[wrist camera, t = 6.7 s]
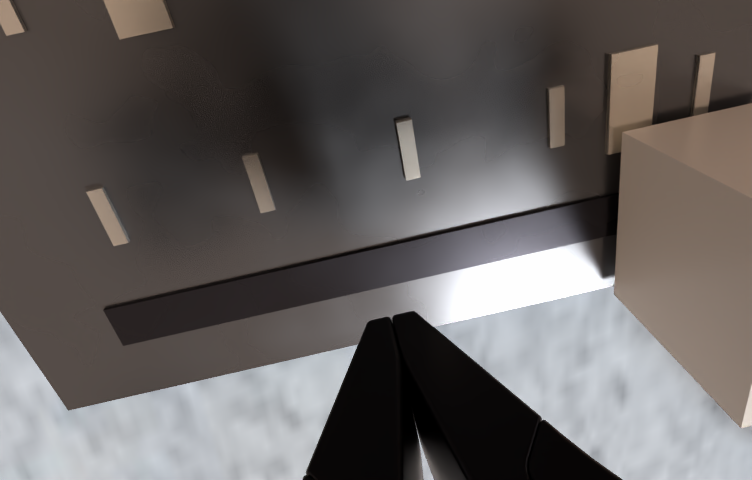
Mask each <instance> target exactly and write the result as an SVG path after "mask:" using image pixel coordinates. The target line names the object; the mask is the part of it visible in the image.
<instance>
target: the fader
mask: <svg viewBox="0 0 752 480" xmlns="http://www.w3.org/2000/svg"><path fill="white" fill-rule="evenodd" d="M614 295H615V296H616V297H617V298H618V299H619V300H620V301H621V302H622V303H623V304H624V305H625V306H626V308H627V309H628V310H629V311H630V312H631V313H632V314H633V315H634V316H635V317H636V318H637V319H638V320H639V321H640V322H641V323H642V324H643V325H644V326H645V328H646V329H647V330H648V331H649V332H650V333H651V334H652V335H653V336H654V337H655V338H656V339H657V340H658V341H659V342H660V343H661V344H662V345H663V346H664V348H665V349H666V350H667V351H668V352H669V353H670V354H671V355H672V356H673V357H674V358H675V359H676V360H677V361H678V362H679V363H680V364H681V365H682V367H683V368H684V369H685V370H686V371H687V372H688V373H689V374H690V375H691V376H692V377H693V378H694V379H695V380H696V381H697V382H698V383H699V384H700V385H701V387H702V388H703V389H704V390H705V391H706V392H707V393H708V394H709V395H710V396H711V397H712V398H713V399H714V400H715V401H716V402H717V403H718V404H719V405H720V407H721V408H722V409H723V410H724V411H725V412H726V413H727V414H728V415H729V416H730V417H731V418H732V419H733V420H734V421H735V422H736V423H737V424H738V425H739V427H740V428H744V427H748V426H752V103H750V104H746V105H741V106H737V107H732V108H728V109H723V110H719V111H714V112H710V113H705V114H701V115H696V116H692V117H687V118H683V119H678V120H674V121H669V122H665V123H660V124H656V125H652V126H647V127H643V128H638V129H634V130H629V131H625V132H622V146H621V166H620V185H619V205H618V224H617V244H616V263H615V283H614Z"/></svg>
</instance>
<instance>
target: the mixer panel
mask: <svg viewBox="0 0 752 480" xmlns="http://www.w3.org/2000/svg"><path fill="white" fill-rule="evenodd" d="M750 103H752V0H0V312H1V313H2V315H3V316H4V317H5V319H6V320H7V322H8V323H9V325H10V326H11V328H12V329H13V331H14V332H15V333H16V335H17V336H18V338H19V339H20V341H21V342H22V344H23V345H24V347H25V348H26V349H27V351H28V352H29V354H30V355H31V357H32V358H33V360H34V361H35V363H36V364H37V365H38V367H39V368H40V370H41V371H42V373H43V374H44V376H45V377H46V379H47V380H48V381H49V383H50V384H51V386H52V387H53V389H54V390H55V392H56V393H57V395H58V396H59V397H60V399H61V400H62V402H63V403H64V405H65V406H66V408H67V409H68V410H72V409H77V408H81V407H85V406H90V405H94V404H98V403H103V402H107V401H112V400H116V399H120V398H125V397H129V396H133V395H138V394H142V393H147V392H151V391H155V390H160V389H164V388H168V387H173V386H177V385H182V384H186V383H190V382H195V381H199V380H204V379H208V378H212V377H217V376H221V375H225V374H230V373H234V372H239V371H243V370H247V369H252V368H256V367H260V366H265V365H269V364H274V363H278V362H282V361H287V360H291V359H296V358H300V357H304V356H309V355H313V354H317V353H322V352H326V351H331V350H335V349H339V348H344V347H348V346H352V345H357V344H359V341H360V339H361V336H362V334H363V332H364V329H365V327H366V324H367V323H368V322H369V321H370V320H374V319H379V318H383V317H390V318H391V319H392V317H393V316H394V315H396V314H401V313H405V312H409V311H415V312H416V313H418V314H419V315H420V316H421V317H422V318H424V319H425V320H426V321H427V322H428V323H430V324H431V325H432V326H433V327H436V326H440V325H444V324H449V323H453V322H458V321H462V320H466V319H471V318H475V317H479V316H484V315H488V314H493V313H497V312H501V311H506V310H510V309H515V308H519V307H523V306H528V305H532V304H536V303H541V302H545V301H550V300H554V299H558V298H563V297H567V296H571V295H576V294H580V293H585V292H589V291H593V290H598V289H602V288H607V287H611V286H614V283H615V263H616V244H617V224H618V205H619V185H620V166H621V146H622V132H625V131H629V130H634V129H638V128H643V127H647V126H652V125H656V124H660V123H665V122H669V121H674V120H678V119H683V118H687V117H692V116H696V115H701V114H705V113H710V112H714V111H719V110H723V109H728V108H732V107H737V106H741V105H746V104H750ZM392 323H393V322H392Z"/></svg>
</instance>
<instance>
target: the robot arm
mask: <svg viewBox="0 0 752 480" xmlns="http://www.w3.org/2000/svg"><path fill="white" fill-rule="evenodd" d="M392 322H393V323H392ZM415 423H416V424H415ZM416 427H417V429H416ZM417 431H418V434H417ZM418 435H419V438H420V442H421V445H422V448H423V451H424V454H425V457H426V459H427V462H428V465H429V467H430V470H431V473H432V475H433V478H434V480H622V479H621V478H620V477H618V476H617V475H615V474H614V473H612V472H611V471H610V470H608V469H607V468H605V467H604V466H602V465H601V464H600V463H598V462H597V461H595V460H594V459H593V458H591V457H590V456H589V455H588V454H586V453H585V452H584V451H582V450H581V449H580V448H579V447H577V446H576V445H575V444H574V443H572V442H571V441H570V440H569V439H567V438H566V437H565V436H563V435H562V434H561V433H560V432H559V431H558V430H556V429H555V428H554V427H553V426H552V425H550V424H549V423H548V422H547V421H546V420H542V418H541V417H540V416H539V415H538V414H537V413H536V412H535V411H533V410H532V409H531V408H530V407H529V406H527V405H526V404H525V403H524V402H523V401H522V400H520V399H519V398H518V397H517V396H516V395H514V394H513V393H512V392H511V391H510V390H508V389H507V388H506V387H505V386H504V385H502V384H501V383H500V382H499V381H498V380H496V379H495V378H494V377H493V376H492V375H490V374H489V373H488V372H487V371H486V370H484V369H483V368H482V367H481V366H480V365H479V364H477V363H476V362H475V361H474V360H473V359H471V358H470V357H469V356H468V355H467V354H465V353H464V352H463V351H462V350H461V349H459V348H458V347H457V346H456V345H455V344H453V343H452V342H451V341H450V340H449V339H447V338H446V337H445V336H444V335H443V334H441V333H440V332H439V331H438V330H437V329H436V328H434V327H433V326H432V325H431V324H430V323H428V322H427V321H426V320H425V319H424V318H422V317H421V316H420V315H419V314H418V313H416V312H415V311H409V312H405V313H401V314H396V315H394V316H393V317H392V319H391V318H390V317H383V318H379V319H374V320H370V321H369V322H368V323H367V324H366V327H365V329H364V332H363V334H362V336H361V339H360V341H359V344H358V346H357V349H356V351H355V353H354V356H353V358H352V361H351V363H350V366H349V368H348V371H347V373H346V375H345V378H344V380H343V383H342V385H341V388H340V390H339V393H338V395H337V397H336V400H335V402H334V405H333V407H332V410H331V412H330V414H329V417H328V419H327V422H326V424H325V427H324V429H323V432H322V434H321V436H320V439H319V441H318V444H317V446H316V449H315V451H314V453H313V456H312V458H311V461H310V463H309V466H308V468H307V471H306V474H307V475H305V476H304V477H303V480H424V479H423V470H422V460H421V452H420V445H419V439H418Z"/></svg>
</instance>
